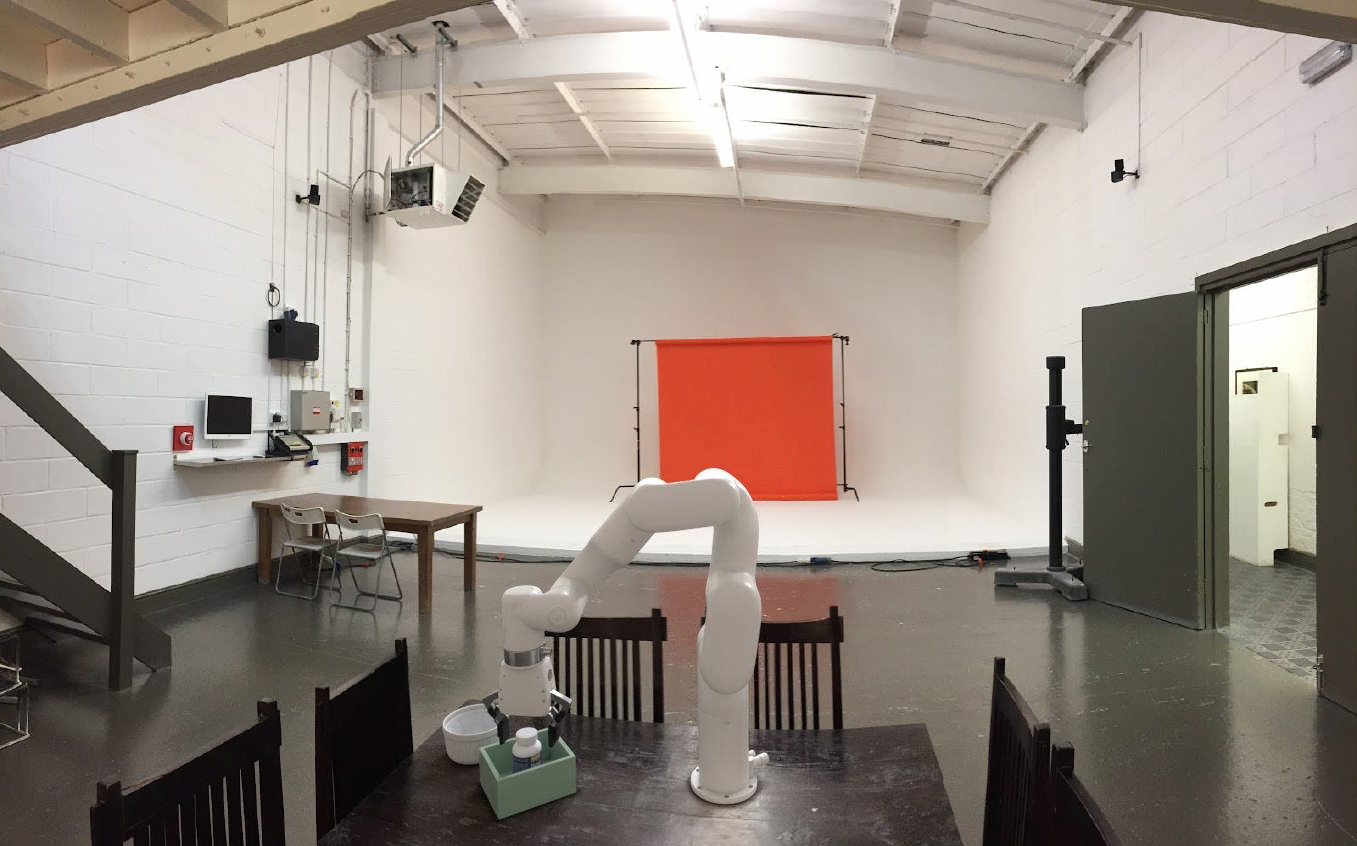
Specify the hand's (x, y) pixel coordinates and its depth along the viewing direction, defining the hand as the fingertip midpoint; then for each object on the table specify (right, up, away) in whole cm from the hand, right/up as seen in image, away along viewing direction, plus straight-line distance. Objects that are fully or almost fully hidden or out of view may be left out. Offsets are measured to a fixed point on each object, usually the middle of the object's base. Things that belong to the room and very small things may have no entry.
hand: (528, 742), depth 123 cm
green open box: (0, -9, +1) cm, 9 cm away
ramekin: (-14, -9, +13) cm, 21 cm away
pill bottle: (0, -8, 0) cm, 8 cm away
